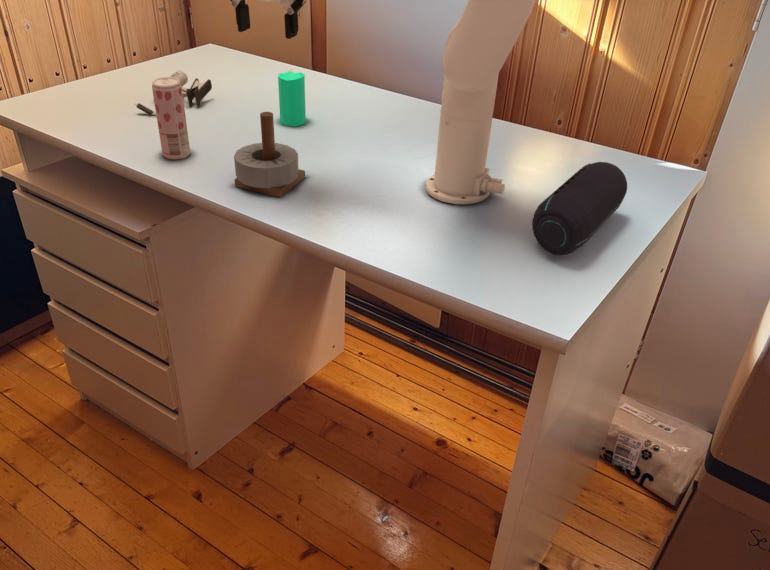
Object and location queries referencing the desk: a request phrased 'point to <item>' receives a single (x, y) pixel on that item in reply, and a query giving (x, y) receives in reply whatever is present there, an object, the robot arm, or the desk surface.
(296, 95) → the candle
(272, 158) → the rack
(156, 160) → the desk surface
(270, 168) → the tape
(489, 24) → the robot arm
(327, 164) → the desk surface
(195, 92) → the clip-on lamp
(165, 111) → the beverage can
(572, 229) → the portable speaker
